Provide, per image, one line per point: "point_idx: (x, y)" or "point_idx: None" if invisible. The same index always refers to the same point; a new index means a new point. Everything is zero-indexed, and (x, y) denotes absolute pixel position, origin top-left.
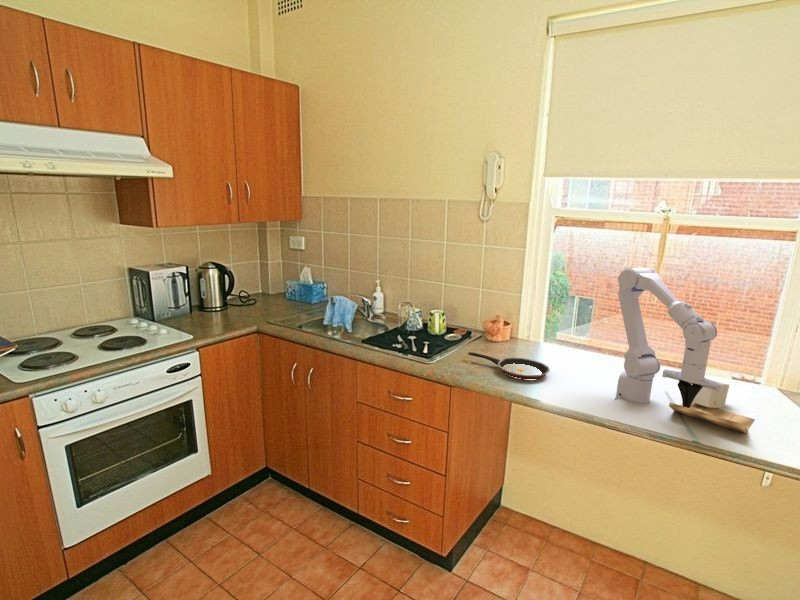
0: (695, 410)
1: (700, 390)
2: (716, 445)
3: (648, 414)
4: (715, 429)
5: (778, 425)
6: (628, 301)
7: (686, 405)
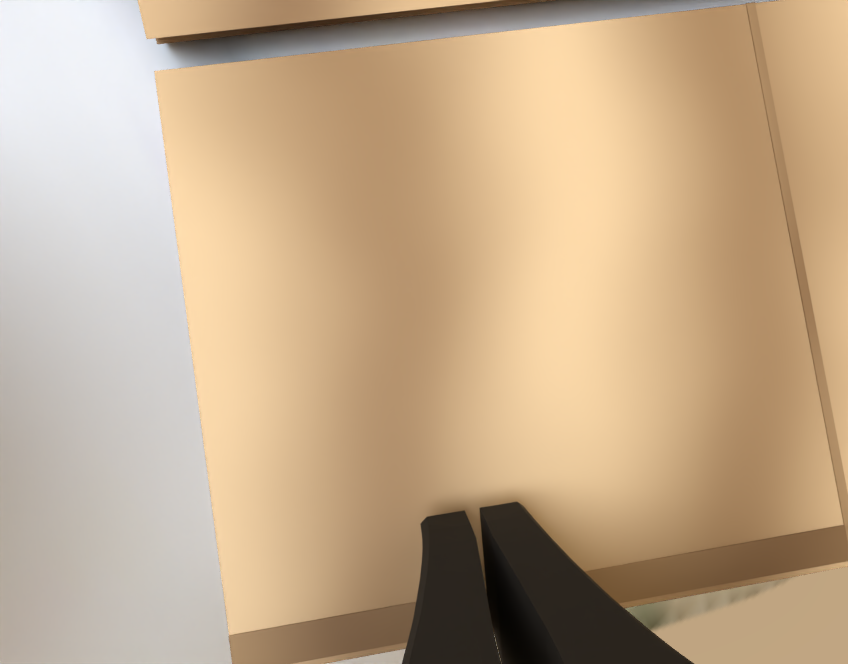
0: (633, 604)
1: None
2: None
3: (28, 494)
4: None
5: None
6: None
7: (503, 657)
